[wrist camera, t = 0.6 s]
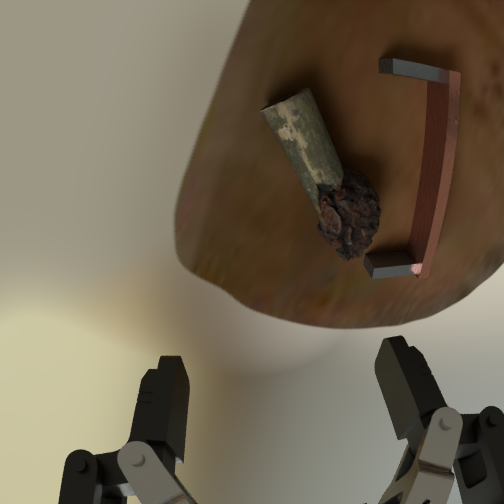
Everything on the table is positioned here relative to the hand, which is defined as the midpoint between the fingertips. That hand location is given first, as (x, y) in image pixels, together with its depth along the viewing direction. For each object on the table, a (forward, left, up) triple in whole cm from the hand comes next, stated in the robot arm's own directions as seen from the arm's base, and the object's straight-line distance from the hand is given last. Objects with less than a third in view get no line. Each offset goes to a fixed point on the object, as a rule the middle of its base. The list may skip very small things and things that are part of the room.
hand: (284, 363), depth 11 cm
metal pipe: (-7, 0, -22) cm, 24 cm away
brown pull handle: (-16, 0, -22) cm, 27 cm away
